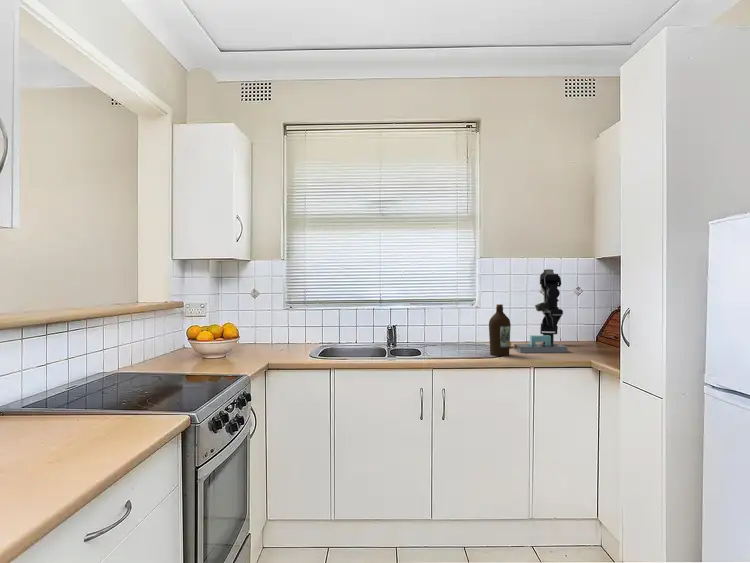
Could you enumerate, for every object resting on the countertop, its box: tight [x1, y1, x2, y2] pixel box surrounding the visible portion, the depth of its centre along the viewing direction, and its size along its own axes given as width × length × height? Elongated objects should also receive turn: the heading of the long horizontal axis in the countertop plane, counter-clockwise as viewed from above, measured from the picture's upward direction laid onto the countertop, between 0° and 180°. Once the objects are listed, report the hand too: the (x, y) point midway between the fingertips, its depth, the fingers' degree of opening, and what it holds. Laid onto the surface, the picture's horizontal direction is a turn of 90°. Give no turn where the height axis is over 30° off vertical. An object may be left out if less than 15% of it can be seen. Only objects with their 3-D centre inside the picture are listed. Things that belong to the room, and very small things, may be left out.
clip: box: [529, 334, 551, 346], centre depth 294 cm, size 3×10×8 cm, turn 91°
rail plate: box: [513, 343, 568, 354], centre depth 294 cm, size 12×24×3 cm, turn 91°
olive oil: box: [488, 303, 511, 357], centre depth 281 cm, size 11×11×25 cm
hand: (551, 326), depth 300 cm, fingers open, 9 cm apart
